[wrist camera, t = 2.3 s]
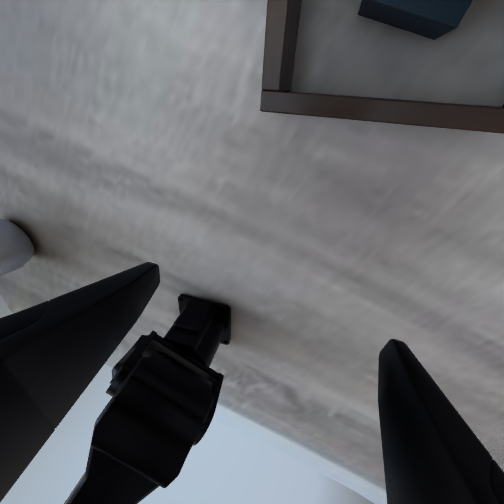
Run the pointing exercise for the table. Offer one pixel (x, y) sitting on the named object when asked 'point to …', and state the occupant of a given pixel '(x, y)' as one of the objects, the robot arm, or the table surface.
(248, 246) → the table surface
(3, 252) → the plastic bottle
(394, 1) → the watch
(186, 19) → the table surface
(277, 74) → the tray
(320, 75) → the table surface
